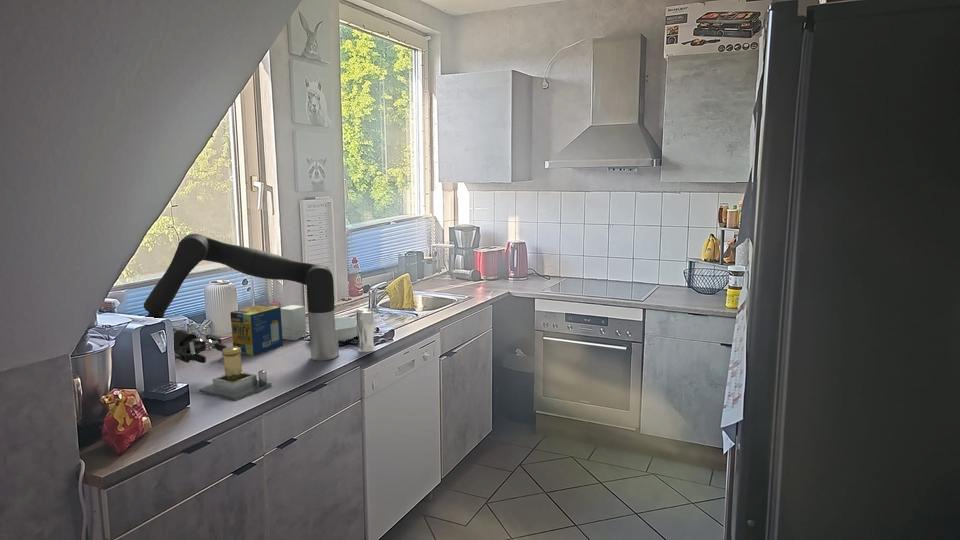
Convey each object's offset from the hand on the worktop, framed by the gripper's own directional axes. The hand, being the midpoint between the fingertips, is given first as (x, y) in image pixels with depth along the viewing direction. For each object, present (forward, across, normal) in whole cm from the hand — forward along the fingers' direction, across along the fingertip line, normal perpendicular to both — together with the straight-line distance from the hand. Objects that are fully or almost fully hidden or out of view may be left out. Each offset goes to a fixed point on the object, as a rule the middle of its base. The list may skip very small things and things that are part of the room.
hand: (215, 354), depth 204 cm
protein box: (-13, +33, +17) cm, 40 cm away
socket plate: (+12, -4, +7) cm, 14 cm away
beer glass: (+26, +47, +11) cm, 55 cm away
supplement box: (-11, +51, +19) cm, 56 cm away
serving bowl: (+7, +56, +16) cm, 58 cm away
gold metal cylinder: (+11, -3, +6) cm, 13 cm away
